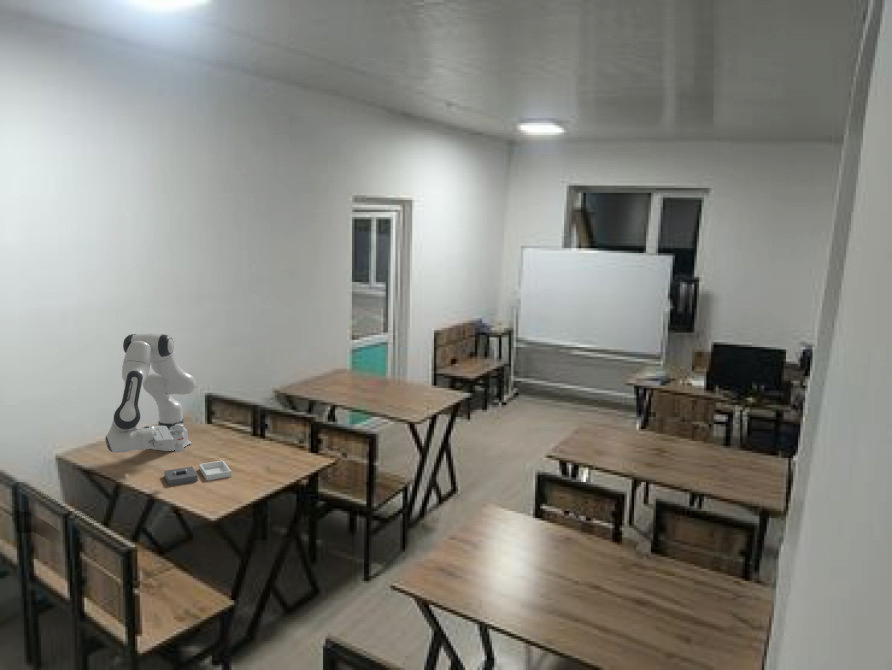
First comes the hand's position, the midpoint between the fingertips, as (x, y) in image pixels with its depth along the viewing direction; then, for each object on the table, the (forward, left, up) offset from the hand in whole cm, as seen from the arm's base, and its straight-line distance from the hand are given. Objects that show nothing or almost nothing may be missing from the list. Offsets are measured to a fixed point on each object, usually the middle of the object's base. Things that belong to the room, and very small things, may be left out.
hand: (181, 434), depth 292 cm
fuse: (0, -1, -7) cm, 8 cm away
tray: (0, +14, -22) cm, 26 cm away
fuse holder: (0, -1, -22) cm, 22 cm away
